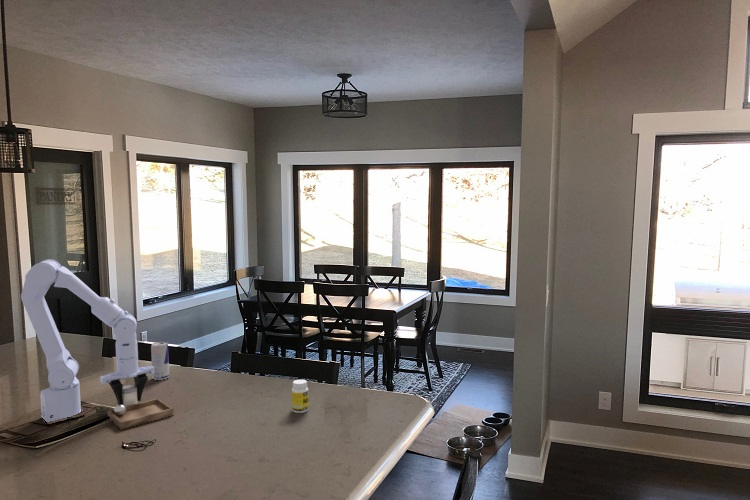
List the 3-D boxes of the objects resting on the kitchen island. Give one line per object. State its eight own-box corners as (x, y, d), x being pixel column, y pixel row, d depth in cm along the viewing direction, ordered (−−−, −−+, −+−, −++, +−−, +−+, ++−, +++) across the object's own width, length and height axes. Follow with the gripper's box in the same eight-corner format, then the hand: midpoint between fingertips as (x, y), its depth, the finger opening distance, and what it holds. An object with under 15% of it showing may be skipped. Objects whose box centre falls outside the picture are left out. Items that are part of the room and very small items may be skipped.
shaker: (124, 412, 154) (123, 391, 153) (118, 407, 157) (117, 387, 157) (140, 408, 157) (139, 387, 157) (135, 403, 160) (134, 384, 160)
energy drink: (172, 375, 186) (170, 341, 185) (164, 381, 180) (163, 346, 179) (157, 375, 186) (155, 341, 185) (149, 380, 181) (147, 345, 180)
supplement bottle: (305, 413, 152) (304, 384, 151) (289, 412, 153) (289, 383, 152) (310, 407, 157) (310, 379, 156) (295, 406, 158) (294, 378, 157)
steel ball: (116, 418, 148) (115, 407, 147) (112, 415, 150) (112, 404, 149) (127, 415, 150) (127, 404, 149) (124, 412, 152) (123, 402, 152)
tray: (121, 430, 142) (120, 422, 142) (107, 418, 150) (107, 411, 150) (173, 415, 151) (173, 408, 151) (158, 404, 159) (158, 398, 159)
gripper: (104, 365, 148) (107, 413, 149) (157, 354, 158) (159, 399, 159) (96, 359, 153) (99, 406, 154) (148, 349, 163) (150, 393, 164)
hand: (129, 402), depth 157 cm, fingers closed on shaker, 4 cm apart
